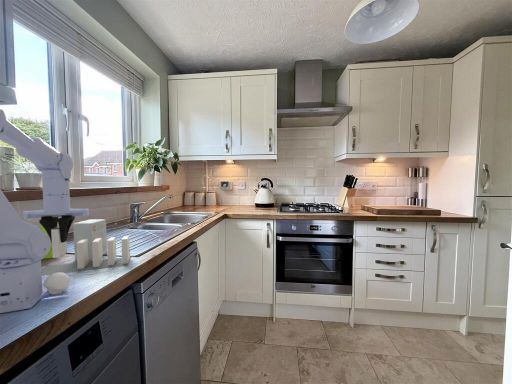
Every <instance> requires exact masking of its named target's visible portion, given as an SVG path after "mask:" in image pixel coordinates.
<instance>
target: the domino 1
mask: <svg viewBox="0 0 512 384" xmlns="http://www.w3.org/2000/svg"><path fill="white" fill-rule="evenodd" d="M51 234H52V254H53V258H52V259H58V258H59V259H60V258H61V257H63V256H64V255H66V254H68V248H67V247H68V246H67V245H68V244H67V241H65V242H63V243H61V240H60V228H59V226H56V227H54V228H51Z"/></svg>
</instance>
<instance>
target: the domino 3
mask: <svg viewBox="0 0 512 384" xmlns="http://www.w3.org/2000/svg"><path fill="white" fill-rule="evenodd" d="M92 254H93V260H92V261H93V267H99V266H100V265H101V263H102V262H103V260H104V259H103V258H104V257H103V256H104V254H102V238H96V239H95V240H94V241H93V242H92Z"/></svg>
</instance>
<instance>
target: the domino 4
mask: <svg viewBox="0 0 512 384" xmlns="http://www.w3.org/2000/svg"><path fill="white" fill-rule="evenodd" d="M106 255H107V259H108V265H114V264H115V262H116V260H117V258H118V257H117V238H116V236H112V237H109V238H108V239H107V253H106Z"/></svg>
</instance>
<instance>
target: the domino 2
mask: <svg viewBox="0 0 512 384" xmlns="http://www.w3.org/2000/svg"><path fill="white" fill-rule="evenodd" d="M76 246H77V260H76V263H77V269H82V268H85V266H86V265H87V264H88V261H89V260H88V239H83V240H80V241H79V242H78V243H76Z"/></svg>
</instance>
